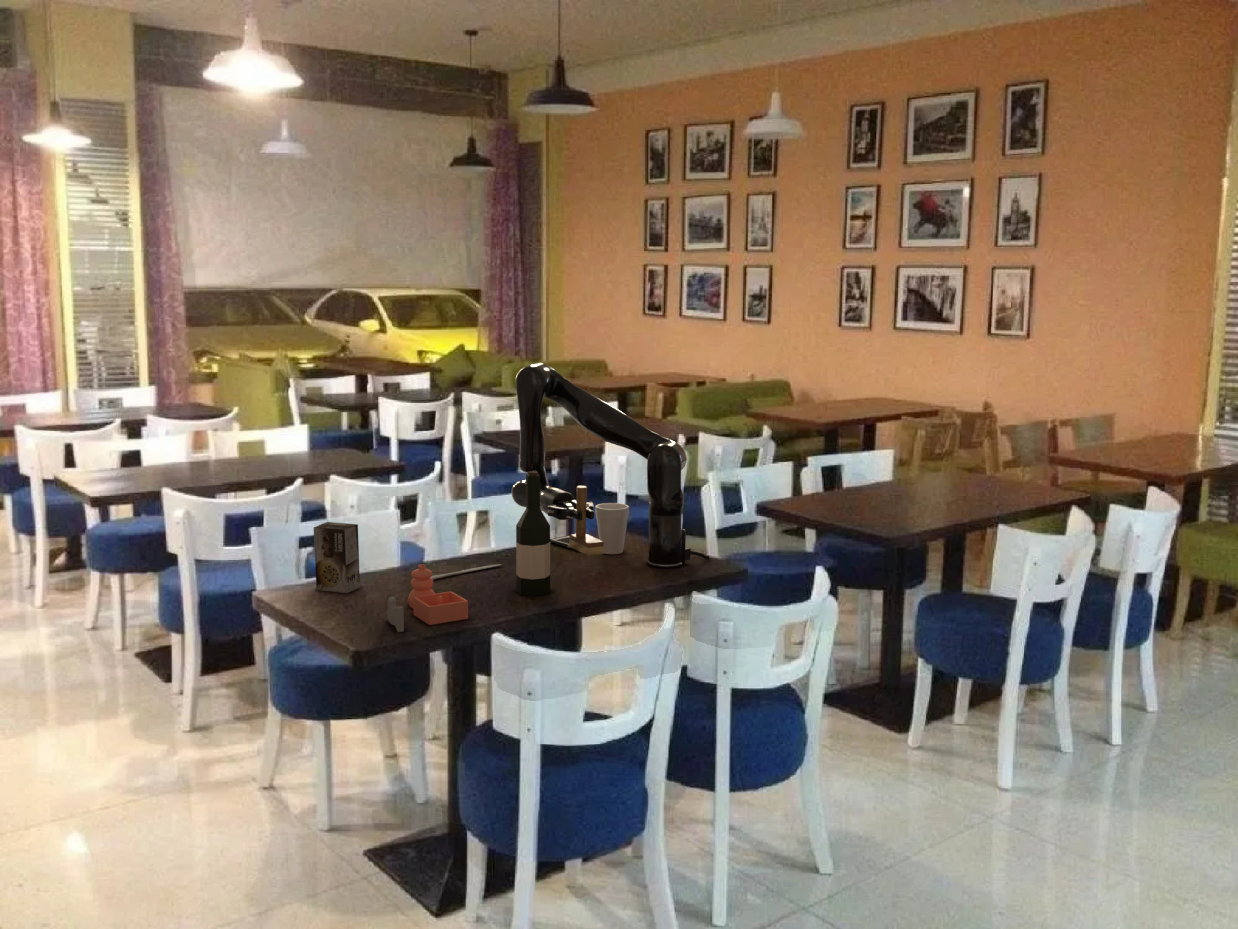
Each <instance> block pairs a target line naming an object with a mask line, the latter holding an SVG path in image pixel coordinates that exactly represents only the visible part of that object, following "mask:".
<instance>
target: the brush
mask: <svg viewBox="0 0 1238 929" xmlns="http://www.w3.org/2000/svg"><path fill="white" fill-rule="evenodd" d="M575 497H576V498H575V499H576V510H579V511H581V512H582V513H583V519H582V520H577V519H575V533H572V534H569V536H570V541H569V547H571V548H570V549H572V548H573V550H575V551H577V552H579V553H581V554H583V555H586V556H588V557H590V556H598V555H604V553H603V547H604V542H603V541H601V540H599V538H597V537H594V536H592V535H590V534H587V518H586V505H587V503H588V502H587V501H588V500H587V497H588V486H587V485H577V486H576V496H575ZM569 547H568V548H569Z"/></svg>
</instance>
